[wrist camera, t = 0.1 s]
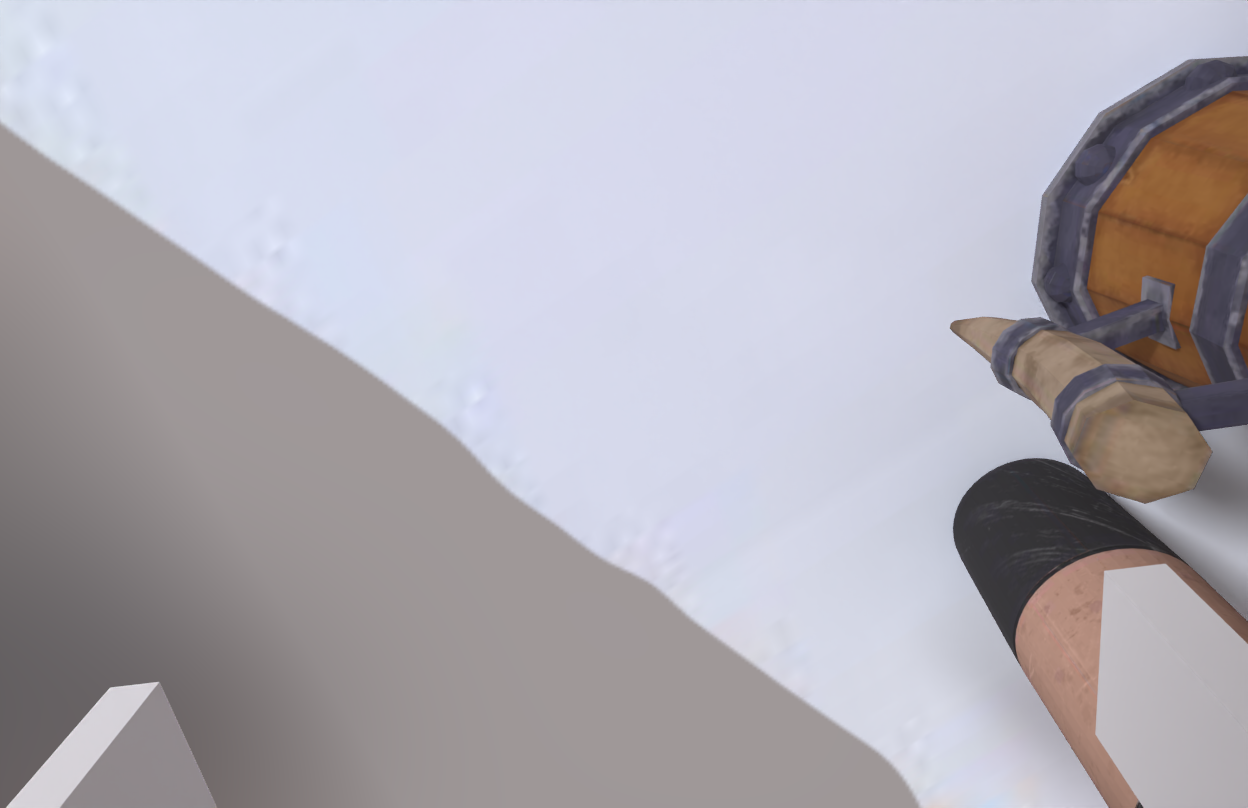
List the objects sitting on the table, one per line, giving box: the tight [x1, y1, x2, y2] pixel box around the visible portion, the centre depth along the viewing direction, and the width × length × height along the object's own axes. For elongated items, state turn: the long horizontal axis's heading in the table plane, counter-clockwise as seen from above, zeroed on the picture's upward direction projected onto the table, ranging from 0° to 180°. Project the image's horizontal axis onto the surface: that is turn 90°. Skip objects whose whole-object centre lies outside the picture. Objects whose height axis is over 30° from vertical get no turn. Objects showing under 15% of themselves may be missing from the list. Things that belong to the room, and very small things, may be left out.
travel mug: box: [953, 458, 1248, 808], centre depth 33 cm, size 8×8×20 cm
